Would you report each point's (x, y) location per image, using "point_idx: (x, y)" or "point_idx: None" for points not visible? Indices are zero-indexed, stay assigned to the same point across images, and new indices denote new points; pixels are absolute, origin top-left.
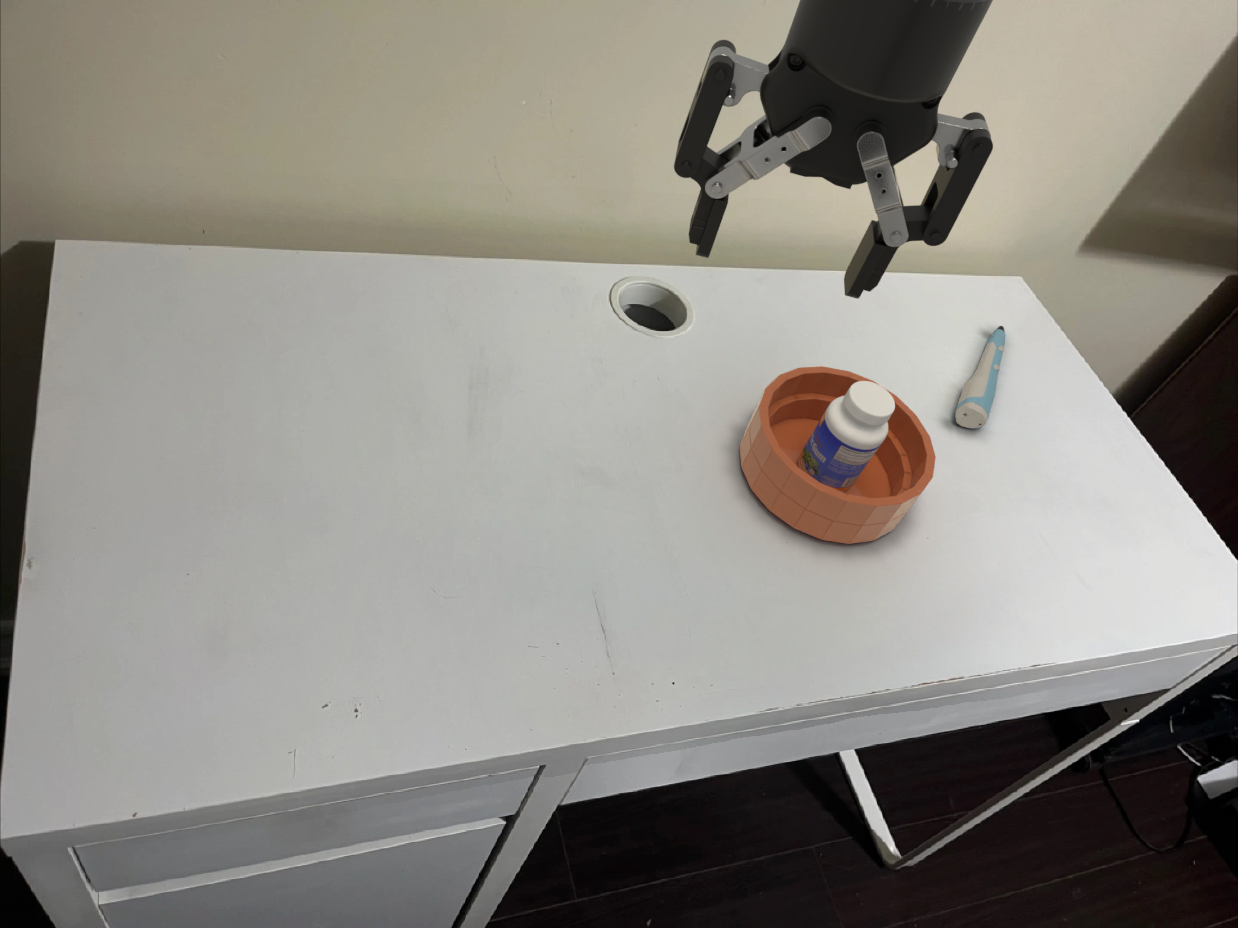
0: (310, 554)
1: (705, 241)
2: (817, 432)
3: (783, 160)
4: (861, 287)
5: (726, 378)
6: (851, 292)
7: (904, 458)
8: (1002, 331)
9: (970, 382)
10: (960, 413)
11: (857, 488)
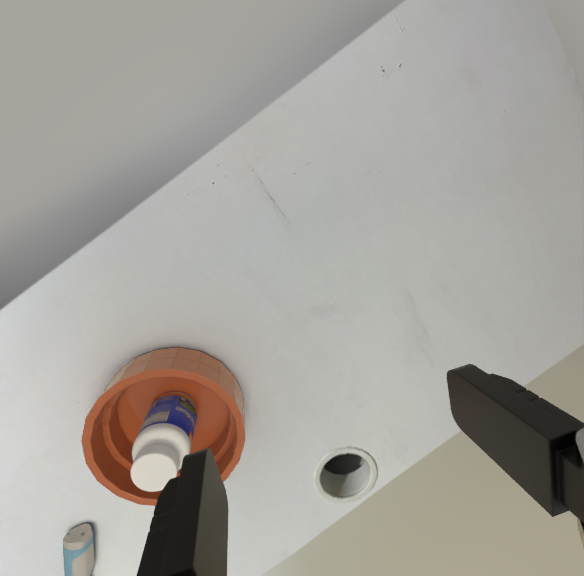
0: (453, 157)
1: (483, 378)
2: (190, 426)
3: None
4: (186, 470)
5: (273, 448)
6: (201, 454)
7: (115, 453)
8: None
9: (88, 569)
10: (87, 533)
11: (145, 411)
